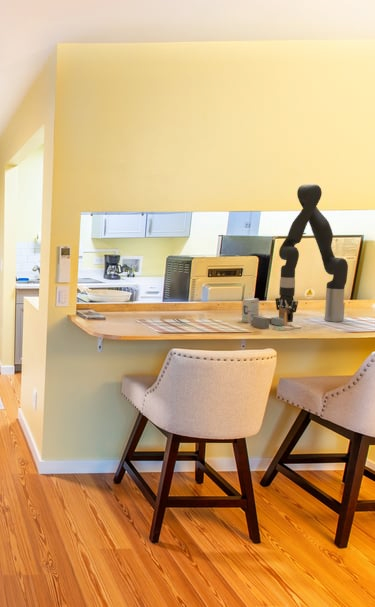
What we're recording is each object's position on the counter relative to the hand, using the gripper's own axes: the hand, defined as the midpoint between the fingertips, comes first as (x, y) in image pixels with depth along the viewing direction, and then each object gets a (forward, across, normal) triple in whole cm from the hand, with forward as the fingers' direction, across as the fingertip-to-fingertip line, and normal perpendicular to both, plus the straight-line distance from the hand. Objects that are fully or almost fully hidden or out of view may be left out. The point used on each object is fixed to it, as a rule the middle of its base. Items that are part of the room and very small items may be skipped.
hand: (285, 319), depth 292 cm
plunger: (+2, -3, +5) cm, 6 cm away
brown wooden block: (+1, 0, 0) cm, 1 cm away
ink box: (+3, +15, +10) cm, 18 cm away
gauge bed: (+2, -2, +9) cm, 10 cm away
